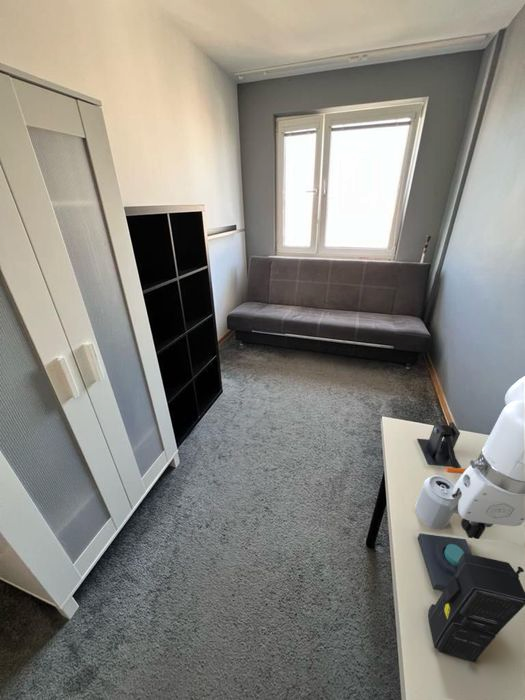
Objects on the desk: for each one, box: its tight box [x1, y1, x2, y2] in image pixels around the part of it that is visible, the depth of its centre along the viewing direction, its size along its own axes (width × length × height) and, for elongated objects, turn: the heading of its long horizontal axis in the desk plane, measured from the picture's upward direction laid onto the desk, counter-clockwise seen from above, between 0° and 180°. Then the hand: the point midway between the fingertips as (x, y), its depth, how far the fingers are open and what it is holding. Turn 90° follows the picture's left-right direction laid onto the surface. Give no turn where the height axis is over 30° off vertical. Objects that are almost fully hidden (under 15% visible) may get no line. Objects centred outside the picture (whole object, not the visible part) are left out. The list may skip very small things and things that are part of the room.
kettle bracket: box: [416, 420, 462, 468], centre depth 85 cm, size 10×9×12 cm
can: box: [414, 475, 456, 530], centre depth 68 cm, size 8×8×12 cm
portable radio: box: [427, 553, 525, 663], centre depth 46 cm, size 8×6×25 cm
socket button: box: [444, 544, 464, 567], centre depth 60 cm, size 4×4×2 cm
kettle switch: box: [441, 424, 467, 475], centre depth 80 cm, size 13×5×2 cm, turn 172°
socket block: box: [417, 533, 473, 591], centre depth 61 cm, size 10×10×4 cm
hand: (469, 530), depth 55 cm, fingers closed
